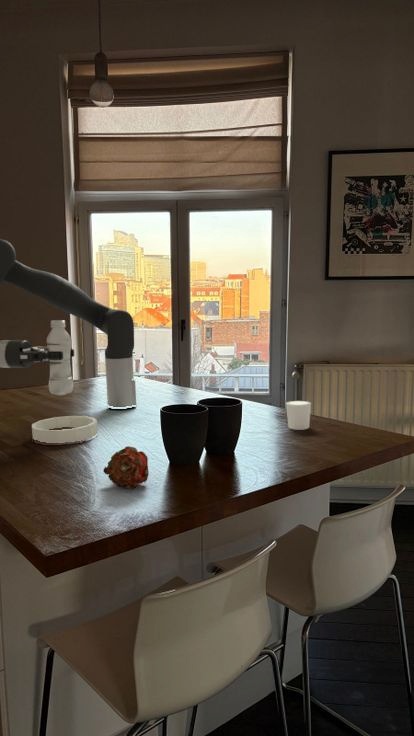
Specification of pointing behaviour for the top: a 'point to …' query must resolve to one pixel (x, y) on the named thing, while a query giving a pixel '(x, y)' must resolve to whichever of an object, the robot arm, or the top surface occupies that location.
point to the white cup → (298, 414)
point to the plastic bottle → (60, 368)
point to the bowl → (81, 430)
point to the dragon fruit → (128, 468)
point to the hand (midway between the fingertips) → (68, 354)
